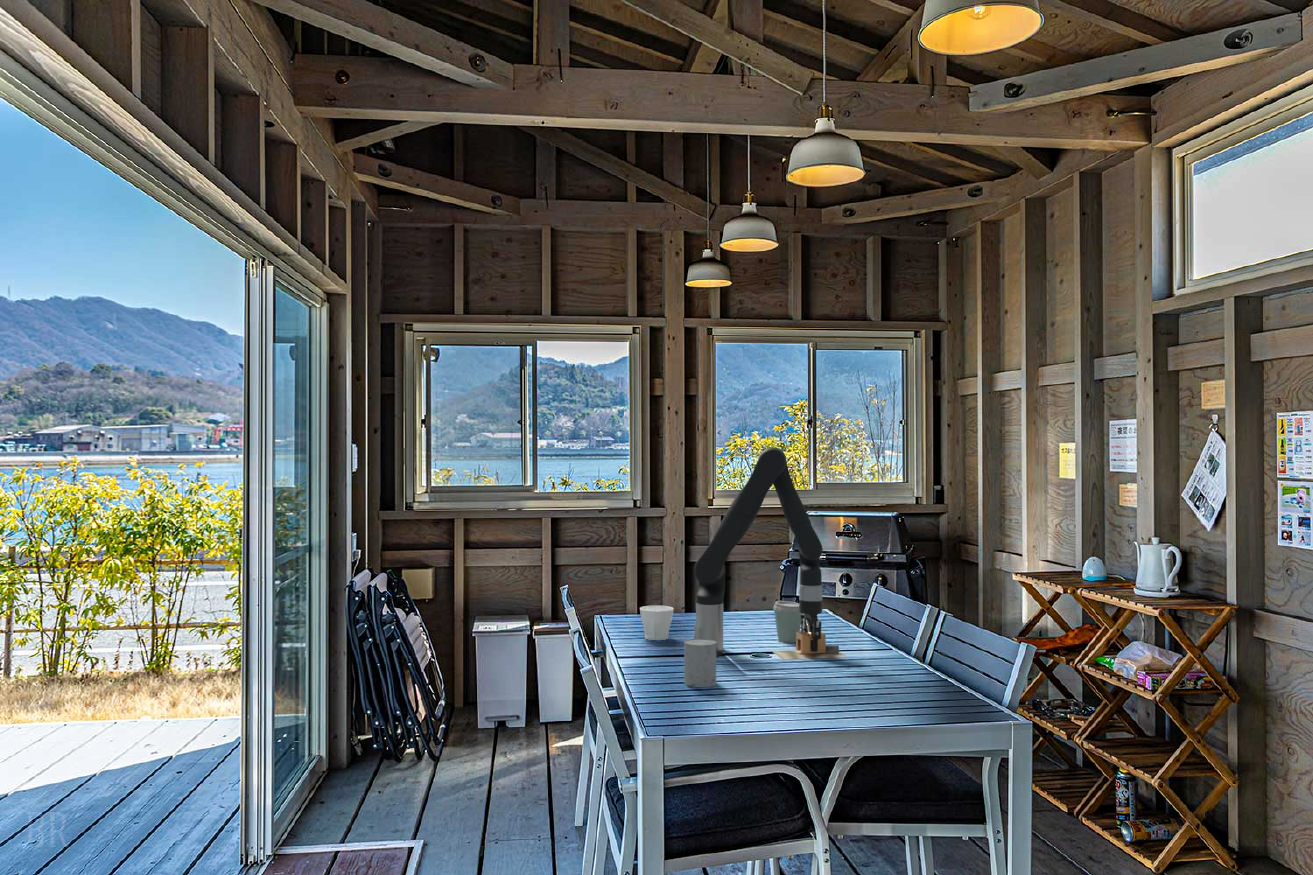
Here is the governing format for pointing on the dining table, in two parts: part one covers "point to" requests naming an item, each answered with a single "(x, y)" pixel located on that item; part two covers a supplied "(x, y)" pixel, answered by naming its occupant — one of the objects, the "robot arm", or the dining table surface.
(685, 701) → the dining table surface
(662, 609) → the cup
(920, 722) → the dining table surface
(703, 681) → the grey cylinder
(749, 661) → the dining table surface
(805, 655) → the board
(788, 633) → the disposable coffee cup
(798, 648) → the cardboard box
